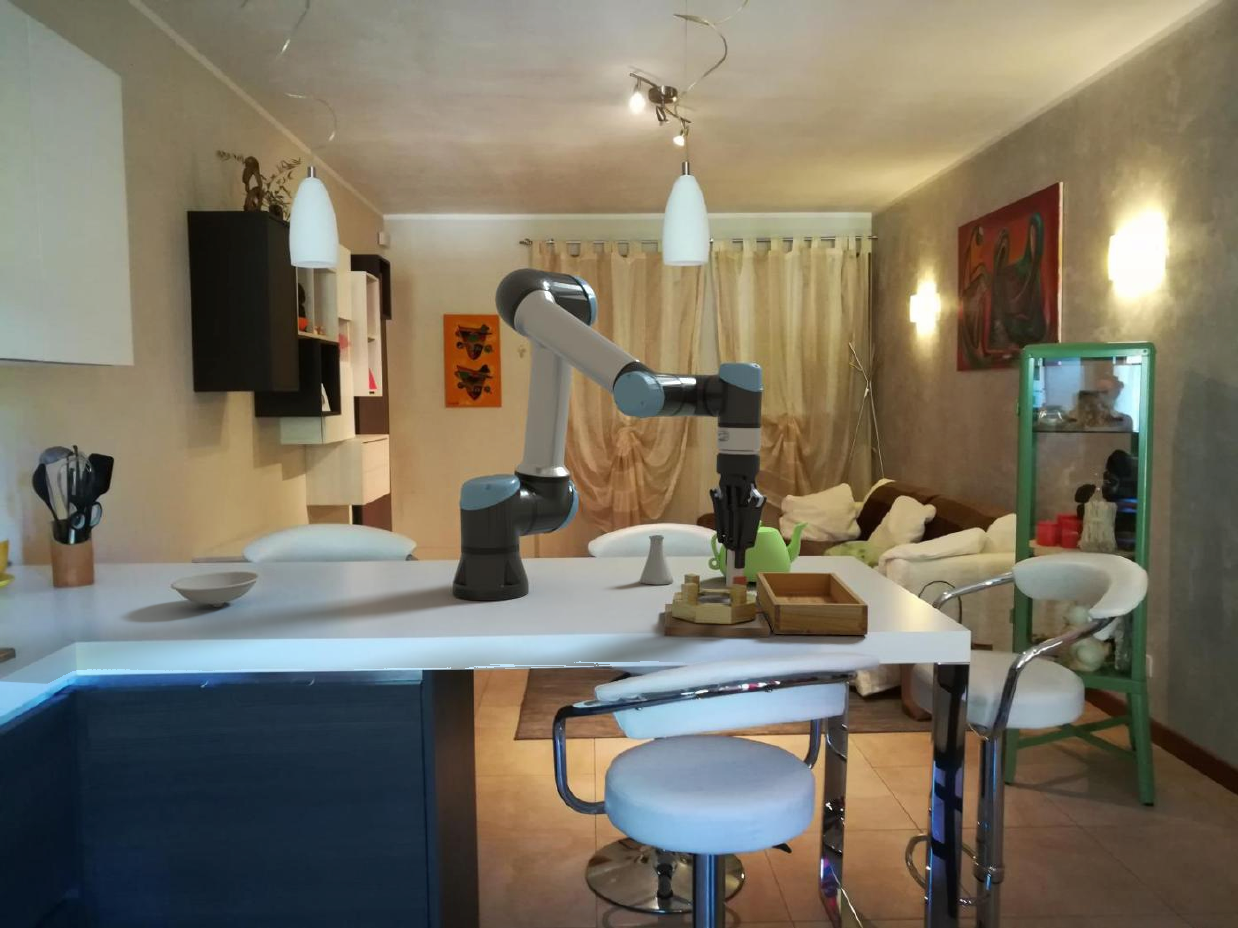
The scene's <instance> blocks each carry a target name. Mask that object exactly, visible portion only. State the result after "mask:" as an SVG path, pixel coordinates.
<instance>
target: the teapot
mask: <svg viewBox="0 0 1238 928" xmlns="http://www.w3.org/2000/svg"><path fill="white" fill-rule="evenodd" d="M810 523H811V522H810V521H806V522H802V523H799V524H797V525H796V526H795V527H794V529H793V532H792V537H791V540H790V543H789V545H786V543H785V541H784V539H783V537H782V535H781V533H780V531H779V530H778V529H776V528H774V527H771V526H770V527H769V526H761V525H762V524H763V523H762V520H760V523H759V527H758V532H757V537H756V542H755V546H754V547H753V548H748V549H747V550H746V552H745V567H744V568H743V576H746V586H747V585H749V584H750V583H751V582H753V583H757V572H790V573H791V568H792V566H791V565H792V563H793V562H795V560H797V558H798V557H799V554H800V550H801V537H802V533H803V530H804V529H805V528H806V527H807V525H808V524H810ZM710 545H711V549H712V552H713V555H714V557H711V558H710V559H709V560H708V567H709V569H711V570H714V571H717V570H719V571H720V572H721V575H723V577H724V578H727V566H726V563H725V562H726V548H725V547H724V545H723V544H722V543H721V547H720V549H719V551H718V548H717V532H715V534H713V535H712V537H711V540H710ZM714 561H715V562H716V564H715V565H714V564H713V562H714Z"/></svg>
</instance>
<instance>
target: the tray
mask: <svg viewBox="0 0 1238 928" xmlns="http://www.w3.org/2000/svg"><path fill="white" fill-rule="evenodd" d="M755 590H756V599H757V600H758V602H759V605H760V607H761V609H762V610H763V611H765V613H764V616H766V617H765V618H766V620H768V621H767V622H768V624H769V626H771V629H772V631H773V634H775V635H833V636H835V635H836V636H837V635H838V636H839V635H844V636H847V635H848V636H854V635H855V636H861V635H862V636H866V635H867V636H868V632H869V631H868V626H869V619H868V618H869V606H868V604H867V603H866V602H865V601H864V600H863V599H862V598H861V597H860V596H859V595H858V594H856V593H855V592H854V590H852V589H851V587H850V586H848V584H846V582H844V581H843V580H842V579H841V578H840V577H839V575H837V574H836V573H835V572H791V571H790V572H757V582H756V589H755Z"/></svg>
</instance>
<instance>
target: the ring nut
mask: <svg viewBox="0 0 1238 928" xmlns="http://www.w3.org/2000/svg"><path fill="white" fill-rule="evenodd" d="M700 584H701V583H700V574H699V575H698V574H695V573H687V574H684V583H682V584H681V585H680V586H681V590H680V591H677V592H674V595H673V596H672V604H673V616H674V617H677V618H681V619H684V620H688V621H691V622H695V623H720V624H733V623H738V622H743V621H747V620H752V619H756V605H757V594H753V593H749V592H747V590H748V589H747V588H748V586H747V585H746V576H736V577H734V578H733V585H730V587H729V588H730V589H725V588H724V589H723V588H721V589H720V588H701V585H700ZM709 595H716V596H726V597H729V598H730V603H701V602H698V597H701V596H709Z"/></svg>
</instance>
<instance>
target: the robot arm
mask: <svg viewBox="0 0 1238 928" xmlns="http://www.w3.org/2000/svg"><path fill="white" fill-rule="evenodd" d="M494 302H495V308H496V311H497V313H498V315H499V317H500V319H501V320H502V321H503V322H504V323H505V324H506V325H507V326H509V327H510V329H512V330H513V331H515V332H516V333H517V334H519V335H521V336H522V337H523V338H524V337H525V338H526V339H527V341H528V342H530V344H531V345H532V352H531V353H532V354H531V362H530V374H529V376H530V377H529V384H528V385H529V387H528V396H527V409H526V410H527V411H526V421H525V432H524V433H525V434H524V444H523V445H524V446H523V453H522V454H523V455H522V456H523V457H522V460H521V461H520V463H518V465H516V466H515V467H514V474H510V473H509V474H508V473H499V474H492V475H484V476H478V477H474V478H471V479H468V480H466V481H465V482H464V483H463V484H462V485H461V489H460V499H459V511H460V512H459V513H460V515H459V516H460V557H459V562H458V565H457V568H456V571H455V574H454V578H453V581H452V596H453V597H456V598H459V599H463V600H470V601H499V600H500V601H501V600H511V599H514V598H515V599H516V598H520V597H523V596H525V595H528V594H529V587H530V586H529V583H530V582H529V577H528V575H527V572H526V570H525V567H524V563H523V560H522V556H521V554H520V553H521V552H520V547H521V546H520V543H521V541H520V537H521V538H522V537H526V536H532V535H533V536H534V535H541V534H551V533H554V532H556V531H559V530H562V529H564V528H566V527H568V525H570V524H571V523H572V522H573V520H574V518H575V516H576V515H577V512H578V510H579V509H578V508H579V501H580V500H579V493H578V490H576V486H575V484H574V483H573V481H572V480H570V477H571V473H570V472H571V471H569V470H568V468H567V467H566V466H565V454H566V453H565V452H566V444H567V442H566V441H567V432H568V423H569V421H568V420H569V410H570V401H571V389H572V382H573V381H572V379H573V368H575V369H577V370H578V371H579V372H580V373H581V374H583V375H584V376H585V377H587V378H589V379H590V380H591V381H593V382H594V383H596V384H597V385H598V386H600V387H601V388H602V389H604V390H605V391H606V392H608V393H609V394H610V395H612V396H613V401H614V403H615V405H616V407H617V409H618V411H619V412H621V413H622V414H623V415H624V416H627V417H634V418H637V419H648V418H661V417H662V418H663V417H664V418H666V417H668V418H669V417H673V418H674V417H675V418H676V417H677V418H678V417H681V418H682V417H683V418H684V417H686V418H687V417H692V418H693V417H698V418H699V417H701V418H703V417H705V418H707V417H708V418H709V417H711V418H717V440H716V441H717V443H716V449H717V450H718V451H720V452H718V453H717V454H716V467H715V468H716V470H715V471H716V473H717V474H718V475H720V477H719V478H720V479H719V481H718V486H717V487H715V488H711V489H709V491H708V493H709V496H710V499H711V502H712V507H713V515H714V516H713V517H714V523H715V533H717V539H716V541H717V543H718V544H721V545H722V544H723V545H724V547H725V548H726V562H725V563H726V566H727V578H726V577H725V578H726V580H725V581H726V582H725V583H726V587H727V588H730V585H733V578H734V577H736V576H743V568H744V567H745V552H746V550H747V549H748V548H753V547H754V546H755V542H756V537H757V532H758V527H759V523H760V521H761V517H762V512H763V508H764V506H765V505H766V502H767V500H768V497H767V496H766V494H761V493H760V492H759V490H758V485H757V481H756V477H757V476H758V475H760V472H761V456H760V454H759V453H758V452H759V451H760V450H761V449H762V445H761V444H762V442H761V441H762V428H761V427H762V422H761V421H762V404H763V403H762V402H763V392H764V387H763V370H762V367H761V366H760V365H759V364H757V363H753V362H749V363H748V362H723V363H721V364H720V365H719V367H718V372H717V374H686V373H666V372H657V371H655V370H654V369H652V368H650V367H649V366H647V365H645V363H642V362H641V360H639V359H638V358H636V357H635V356H633V355H632V354H630V353H629V352H627V351H625V350H624V349H623V348H621V346H618V345H617V344H615V343H614V342H613V341H611V340H610V339H608V338H607V337H605V336H604V335H602V334H601V333H599V332H598V331H597V330H595V329H594V328H593V327H592V325H594V324H595V322H596V319H597V315H598V302H597V297H596V293H595V292H594V290H593V289H592V287H591V286H590V284H589V283H588V282H587V281H586V280H585V279H582V278H581V277H578V276H575V275H571V274H569V273H568V274H567V273H559V272H553V271H547V270H540V269H535V268H530V267H529V268H528V267H524V268H518V269H514V270H513V271H511V272H508V274H506V275H505V276H504V277H503V278H502V280H501V281H499V284H498V285H497V288H496V292H495V298H494Z"/></svg>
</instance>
